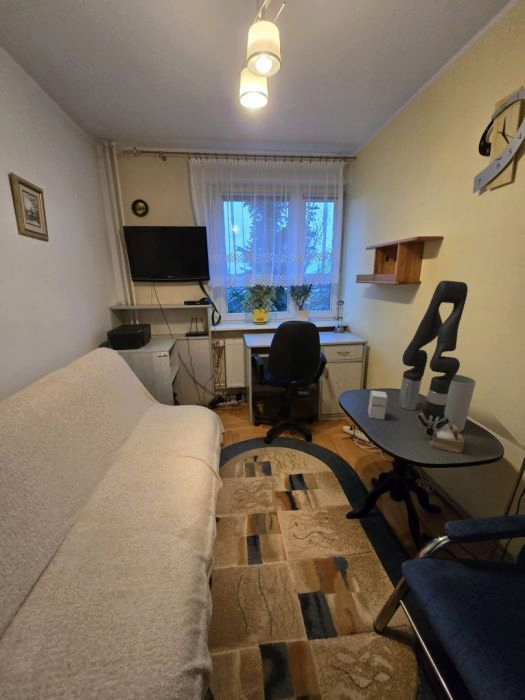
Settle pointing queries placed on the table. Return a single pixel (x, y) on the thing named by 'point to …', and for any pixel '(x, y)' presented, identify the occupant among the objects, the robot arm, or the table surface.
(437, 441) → the oak cradle
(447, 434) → the paper roll
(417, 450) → the table surface
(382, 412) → the supplement box
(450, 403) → the cylinder vase
